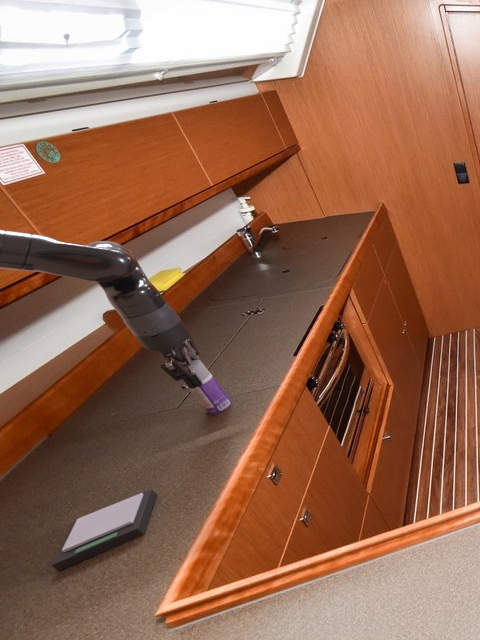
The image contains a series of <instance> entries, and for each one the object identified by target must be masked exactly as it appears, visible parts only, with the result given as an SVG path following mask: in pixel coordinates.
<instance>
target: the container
mask: <svg viewBox="0 0 480 640" xmlns="http://www.w3.org/2000/svg"><path fill="white" fill-rule="evenodd" d="M191 367H192V369H193V370H194V372H195V373H196V375H197V376H198V377H199V379H200V380H201V381H202V383H203V384H202V386H200V387H197V388H193V389H191V388H189V387H188V385H187V384H186V383H185V382H184V380H183V379H182V380H181V381H182V382H183V384H185V386H186V387H187V389H188V390H189V391H190V392H191V394H192V395H193V396H194V397H195V399H196V400H197V401H198V403H199V404H200V405H201V406H202V408H203V409H204V410H205V411H206V413H207V414H208V415H217V414H220V413H222V412H224V411H225V410H227V409H229V407H231V406H232V404H233V401H232V400H231V399H230V398H229V396H228V394H227V393H226V392H225V391H224V389H223V388H222V387H221V385H220V384H219V383H218V381H217V380H216V378H215V377H214V375H213V374H212V373H211V371H209V370H208V368H207V366H205V365H204V363H203V362H202V361H201V360H193V361H192V365H191ZM185 368H186V367H185ZM186 369H187V368H186Z"/></svg>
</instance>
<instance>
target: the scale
mask: <svg viewBox="0 0 480 640" xmlns="http://www.w3.org/2000/svg"><path fill="white" fill-rule="evenodd" d="M157 496H158V493H156V492H155V491H154V489H152V488H150V489H148V490H145V491H142V492H141V493H138V494H135V495H132V496H130V497H128V498H126V499H123V500H120V501H118V502H116V503H113V504H109V505H108V506H104V507H103V508H100V509H98V510H96V511H93V512H91V513H88V514H86V515H83V516H80V517H79V518H76V519H73V521H72V523H71V524H70V527H69V529H68V531H67V532H66V535H65V537H64V539H63V540H62V543H61V544H60V547H59V549H58V551H57V553H56V555H55V557H54V559H53V560H52V563H51V567H52V568H54V569H55V570H57V571H58V572H60V571H62V570H64V569H67V568H70V567H71V566H74V565H76V564H78V563H81V562H83V561H85V560H87V559H90V558H92V557H94V556H97V555H99V554H101V553H104V552H106V551H108V550H110V549H112V548H115V547H118V546H120V545H122V544H125V543H126V542H130V541H131V540H133V539H135V538H138V537H140V536H143V535H145V531H146V528H147V526H148V523H149V520H150V517H151V514H152V511H153V508H154V506H155V502H156V499H157Z"/></svg>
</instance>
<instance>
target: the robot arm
mask: <svg viewBox="0 0 480 640" xmlns="http://www.w3.org/2000/svg"><path fill="white" fill-rule="evenodd" d="M0 269H1V270H13V271H23V272H39V273H44V274H50V275H55V276H58V277H66V278H71V279H78V280H83V281H90V282H96V283H97V284H98V285H99V287H100V288H101V289H102V290H103V291H104V293H105V296H106V299H107V300H108V302H109V303H110V306H111V307H113V309H114V310H115V311H116V313H117V314H118V315H119V316H120V318H121V319H122V321H123V323H124V324H125V326H126V328H127V329H128V330H129V331H130V332H131V334H132V335H133V336H134V337H135V339H137V341H138V342H139V344H141V346H142V347H143V348H144V349H145V350H147V351H149V352H160V356H161V358H162V360H163V361H165V363H161V364H160V368H161V370H163V371H164V372H165V373H166V374H167V375H168V376H169V377H171V378H172V379H173V380H174V381H175V382H179V381H183V380H184V382H185V383H186V384H187V385H188V387H189V388H191V389H193V388H197V387H200V386H202V384H203V383H202V381H201V380H200V379H199V377H198V376H197V375H196V373H195V372H194V370H193V369H192V367H191V365H192V361H193V360H200V359H201V357H199V355H200V351H199V349H198V348H197V346H196V343H195V342H194V340H193V339H192V337H191V331H190V330H189V328H188V327H187V325H186V324H185V323H184V321H183V320H182V318H181V317H180V316H179V315H178V313H177V312H176V310H175V309H174V308H173V307H172V306H171V305H170V304H169V303H168V302H167V300H166V299H165V298H164V296H163V294H161V292H160V291H159V290H158V289H157V287H156V286H155V285H154V284H153V283H152V282H151V281H150V280H149V278H148V277H147V275H146V273H145V272H144V270H143V268H142V267H141V265H140V264H139V262H138V261H137V258H136V257H135V256H134V254H133V252H131V250H130V249H129V248H128V247H126V246H125V245H123V244H120V243H118V242H115V241H111V240H98V241H97V240H96V241H92V242H90V243H88V244H86V245H81V244H76V243H68V242H62V241H61V240H60V241H59V240H58V239H56V238H53V237H51V236H47V235H42V234H36V233H32V234H31V233H28V232H20V231H12V230H6V229H0ZM200 361H201V360H200ZM185 367H186V368H187V369H186V368H185ZM182 379H183V380H182ZM184 382H183V383H184ZM185 383H184V384H185ZM188 387H187V388H188ZM189 388H188V389H189Z"/></svg>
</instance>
